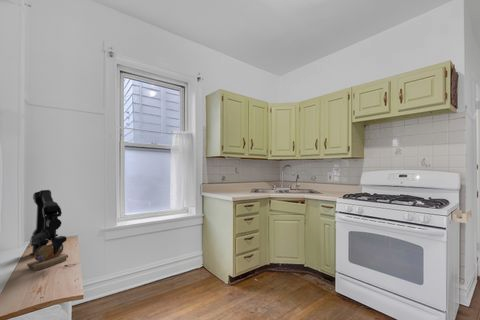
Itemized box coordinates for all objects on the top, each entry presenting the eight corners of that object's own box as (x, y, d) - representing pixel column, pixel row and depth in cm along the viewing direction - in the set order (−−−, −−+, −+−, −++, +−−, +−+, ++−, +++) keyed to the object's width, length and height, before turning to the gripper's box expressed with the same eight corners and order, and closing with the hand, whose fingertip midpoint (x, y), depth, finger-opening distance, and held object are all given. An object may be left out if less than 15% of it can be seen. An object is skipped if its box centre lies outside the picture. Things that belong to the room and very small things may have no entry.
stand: (26, 269, 131) (27, 263, 131) (57, 258, 148) (58, 253, 148) (37, 270, 129) (38, 265, 129) (67, 259, 146) (68, 254, 146)
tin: (36, 263, 132) (37, 248, 132) (32, 262, 132) (33, 247, 133) (63, 254, 146) (64, 240, 146) (59, 253, 147) (60, 240, 147)
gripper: (22, 228, 134) (21, 256, 133) (48, 231, 129) (46, 260, 129) (43, 224, 145) (42, 250, 144) (67, 226, 140) (66, 253, 139)
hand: (48, 253), depth 139 cm, fingers open, 9 cm apart
